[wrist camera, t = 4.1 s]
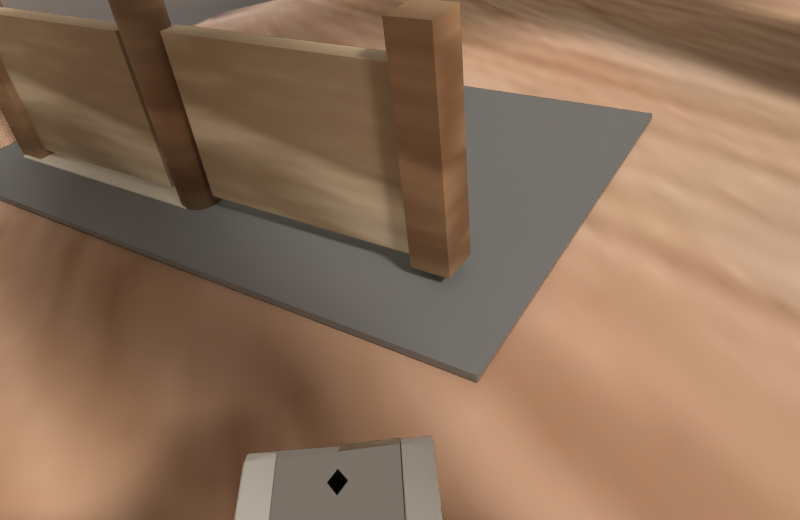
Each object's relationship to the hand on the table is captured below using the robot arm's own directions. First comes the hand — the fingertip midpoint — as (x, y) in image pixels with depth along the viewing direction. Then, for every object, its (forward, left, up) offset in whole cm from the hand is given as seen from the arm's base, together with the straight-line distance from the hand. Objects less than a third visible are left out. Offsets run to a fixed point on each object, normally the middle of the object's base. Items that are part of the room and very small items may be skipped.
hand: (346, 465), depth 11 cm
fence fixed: (-15, -31, -10) cm, 36 cm away
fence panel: (-15, -14, -9) cm, 23 cm away
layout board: (-22, -23, -10) cm, 34 cm away
